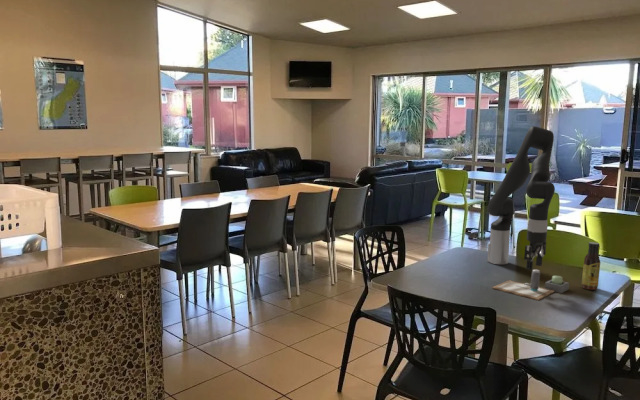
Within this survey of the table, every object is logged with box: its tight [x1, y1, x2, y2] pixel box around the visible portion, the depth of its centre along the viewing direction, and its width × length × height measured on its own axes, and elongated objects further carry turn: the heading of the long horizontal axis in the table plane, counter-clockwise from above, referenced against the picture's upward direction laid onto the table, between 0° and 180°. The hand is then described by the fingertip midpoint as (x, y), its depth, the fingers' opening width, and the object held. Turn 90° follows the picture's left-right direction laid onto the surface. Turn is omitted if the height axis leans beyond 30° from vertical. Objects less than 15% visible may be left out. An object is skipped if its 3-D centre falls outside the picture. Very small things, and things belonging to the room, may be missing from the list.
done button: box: [551, 275, 564, 285], centre depth 219 cm, size 4×4×4 cm
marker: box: [530, 269, 541, 291], centre depth 216 cm, size 3×3×9 cm
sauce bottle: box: [581, 241, 601, 291], centre depth 220 cm, size 6×6×20 cm
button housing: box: [544, 278, 570, 294], centre depth 220 cm, size 7×7×3 cm
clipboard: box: [491, 279, 555, 301], centre depth 218 cm, size 20×15×1 cm
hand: (534, 267), depth 215 cm, fingers open, 8 cm apart
